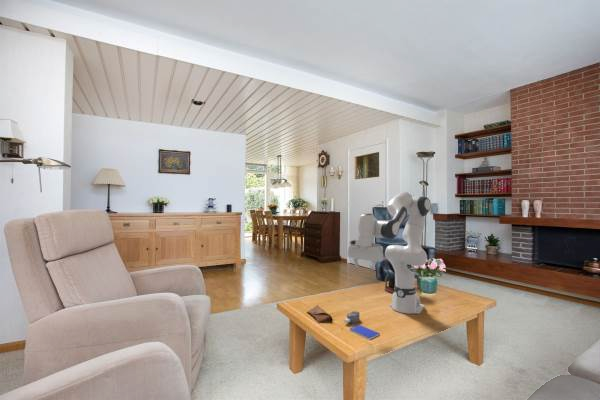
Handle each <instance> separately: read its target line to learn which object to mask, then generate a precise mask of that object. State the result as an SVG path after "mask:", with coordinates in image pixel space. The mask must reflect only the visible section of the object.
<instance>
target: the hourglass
mask: <svg viewBox="0 0 600 400" xmlns="http://www.w3.org/2000/svg"><path fill="white" fill-rule="evenodd" d="M384 259H385V271H386V273H387V275H385V279H384V280H385V281H384V282H385V284H384V291H385V292H386V293H389V294H392V295H393V293H394V292H395V289H394V287H395V271H394V268H393V266H392V264H391V262H390V261H389V260H388V259H387V258H386V256H385V258H384ZM406 265H407V264H406ZM407 266H408V265H407ZM388 267H389V269H390V270H391V272H392V273H393V276H391V277H390V279H388V278H389V276H390V271H389V270H388Z"/></svg>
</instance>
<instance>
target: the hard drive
mask: <svg viewBox="0 0 600 400" xmlns="http://www.w3.org/2000/svg"><path fill="white" fill-rule="evenodd" d="M349 331H350V332H352V333H354V334H357V335H359V336H361V337H363V338H365V339H367V340H373V339H374V338H376V337H378V336H380V332H378V331H375V330H373V329H371V328H368V327H366V326H364V325H361V324H357V325H355V326H352V327H350V328H349Z"/></svg>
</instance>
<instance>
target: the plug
mask: <svg viewBox="0 0 600 400" xmlns="http://www.w3.org/2000/svg"><path fill="white" fill-rule="evenodd" d="M343 322H344V323H347V324H350V325H353V324H355V323H357V322H360V312H359V311H357V310H356V311H351V312H349V313H347V314H346V318H344V319H343Z"/></svg>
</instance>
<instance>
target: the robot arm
mask: <svg viewBox="0 0 600 400" xmlns="http://www.w3.org/2000/svg"><path fill="white" fill-rule="evenodd" d="M431 208H432V203H431V200H430V198H428V197H427V196H413V197H412V195H411V194H410V193H409V192H408V191H400V192H399V193H397V194H396V195H394V196H393V198H392V199H390V200H389V201H388V202H387V206H386V209H387V212H388V213H389V215H390V216H392V217H393V218H392V219H388V220H381V219H380V220H379V219H377V218H376V217H375V215H374V214H373V213H361V214H360V215H359V218H358V225H357V226H358V227H357V231H358V234H357V238H356V239H352V240H349V246H348V249H347V256H348V258H350V259H353V262H354V267H356V268H359V267H360V263H358V260H364V261H371V263H372V265H370V266H369V267H370V268H369V269H370V270H375V266H376V265H377V263H380V262H381V263H382V262H383V261H384V256H385V257H386V258H387V259H388V260H389V261H390V262H391V264H392V266H393V268H394V271H395V287H394V289H395V292H394V293H393V294H392V297H391V303H389V306H390V307H391V308H392V309H393V310H394V311H396V312H398V313H402V314H407V315H408V314H410V315H411V314H418V315H420V314H421V313H422V311H423V309H424V308H425V305H424V304H422V303H421V297H420V296H419V295H418V294H417V292H416V291H417V289H418V286H417V285H416V286H415V274H414V272H413V271H411V270H410V268H408V267H409V266H413V267H418V266H422V267H423V266H424V265H425V264H426V263H427V260H428V255H427V252H426V251H425V250H424V248H423V247H422V245H421V244H422V243H421V240H422V236H423V233H424V230H425V226H426V225H425V224H426V216H427V215H428V214H429V212H430V211H431ZM408 215H409V216H408ZM407 216H408V219H407V221H406V223H405V226H404V230H403V231H402V239H403V241H404V242H405V243H407V245H399V244H392V245H388V246H387V247H386V248H385V251H384V247H383V245H382V244H381V243H375V238H380V239H388V240H393V239H395V238H396V237H397V236H398V234H399V231H400V228H401V227H402V225H403V223H404V221H405V220H406V218H407ZM383 251H384V252H383ZM389 261H388V262H389ZM406 264H407V265H406ZM408 265H409V266H408Z"/></svg>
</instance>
